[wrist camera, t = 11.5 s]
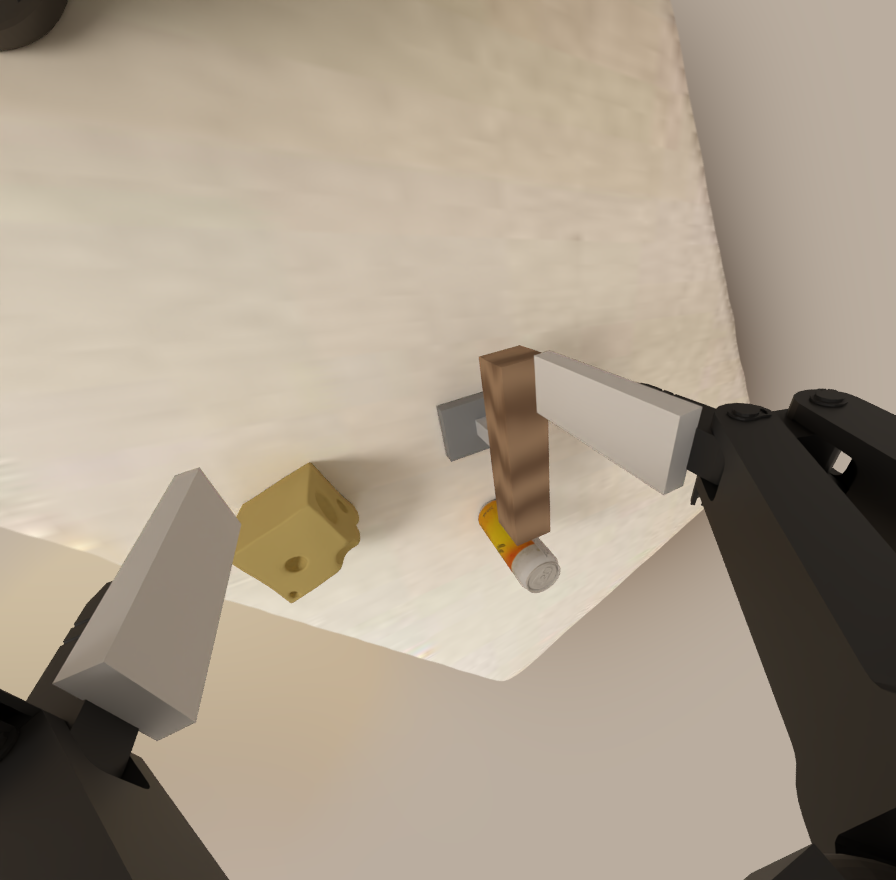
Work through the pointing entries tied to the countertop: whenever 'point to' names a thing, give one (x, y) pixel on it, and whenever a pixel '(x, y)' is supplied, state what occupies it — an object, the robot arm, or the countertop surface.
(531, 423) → the walnut bar
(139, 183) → the countertop surface
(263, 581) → the cheese
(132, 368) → the countertop surface
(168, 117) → the countertop surface
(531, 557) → the beer can
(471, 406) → the fulcrum
